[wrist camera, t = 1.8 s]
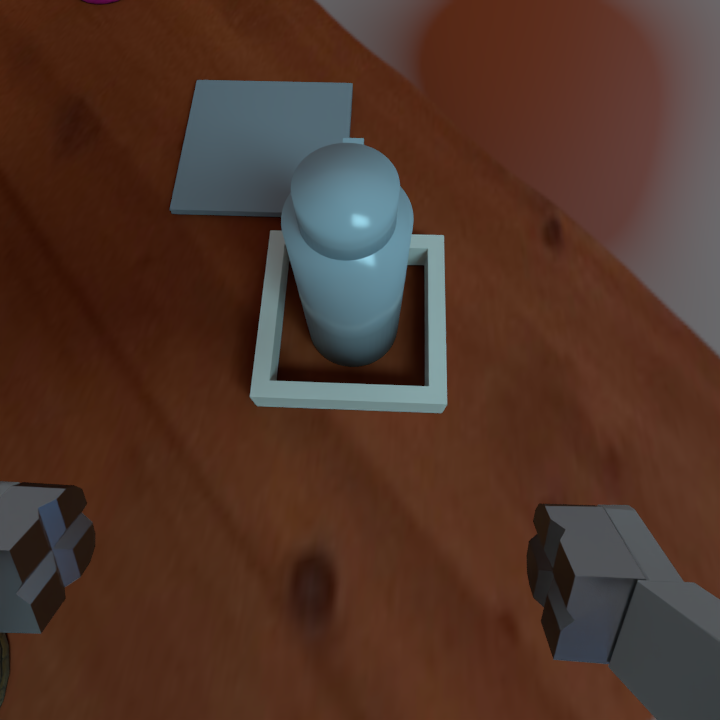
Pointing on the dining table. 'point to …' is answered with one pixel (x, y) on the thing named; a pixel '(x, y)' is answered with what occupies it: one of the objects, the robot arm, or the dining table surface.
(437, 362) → the holder
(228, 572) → the dining table surface
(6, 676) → the wooden mug
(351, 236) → the blue capped bottle
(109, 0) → the pepper mill
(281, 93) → the mat
